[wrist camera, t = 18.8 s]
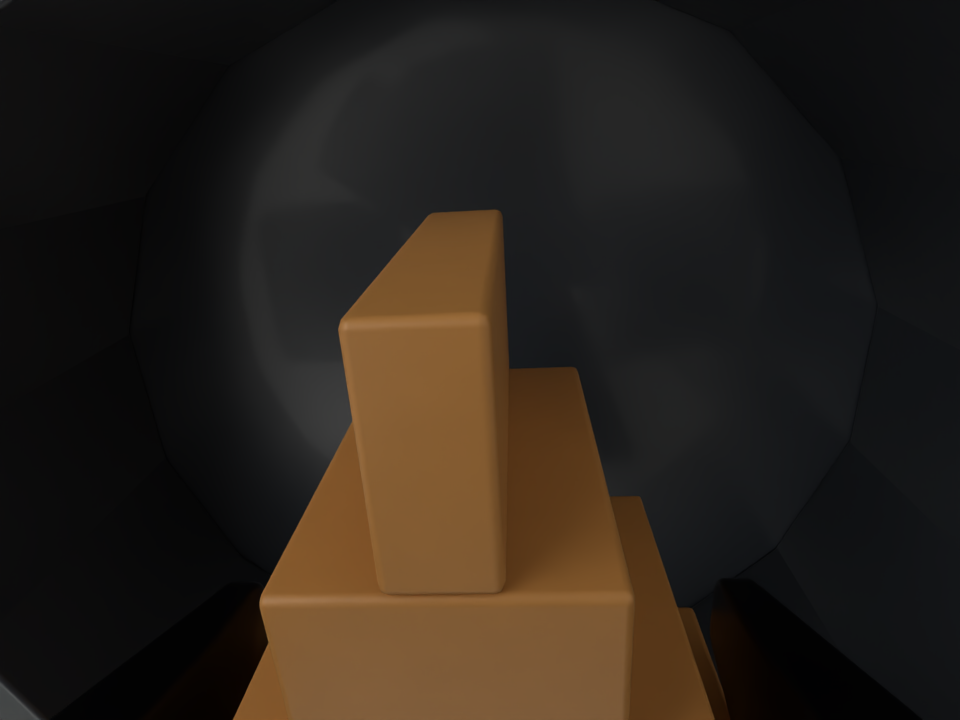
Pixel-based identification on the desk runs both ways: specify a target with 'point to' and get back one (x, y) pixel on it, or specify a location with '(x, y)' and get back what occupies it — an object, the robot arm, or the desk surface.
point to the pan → (529, 291)
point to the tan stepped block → (469, 530)
